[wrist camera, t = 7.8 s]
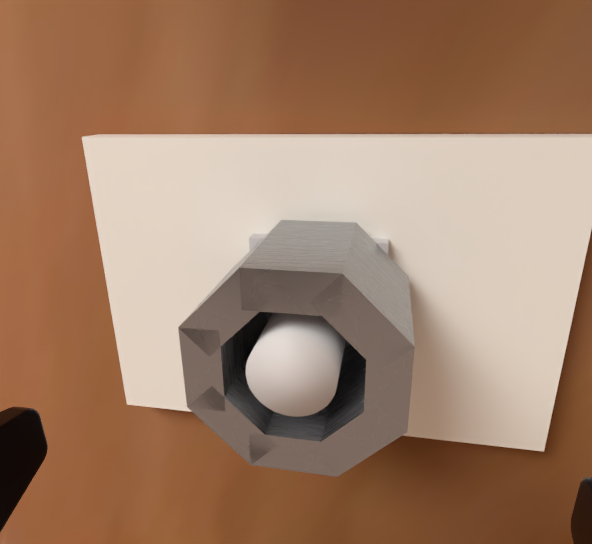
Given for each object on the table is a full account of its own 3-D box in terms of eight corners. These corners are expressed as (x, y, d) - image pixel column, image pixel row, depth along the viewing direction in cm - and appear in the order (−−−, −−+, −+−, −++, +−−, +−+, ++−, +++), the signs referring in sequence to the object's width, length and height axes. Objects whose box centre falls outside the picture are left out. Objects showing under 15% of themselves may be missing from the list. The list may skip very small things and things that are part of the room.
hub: (412, 224, 16) (420, 277, 11) (399, 386, 18) (402, 485, 13) (230, 218, 17) (170, 264, 12) (240, 370, 19) (192, 457, 15)
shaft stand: (595, 133, 15) (730, 160, 9) (535, 431, 20) (600, 585, 13) (100, 134, 19) (-43, 153, 13) (139, 389, 23) (47, 498, 17)
